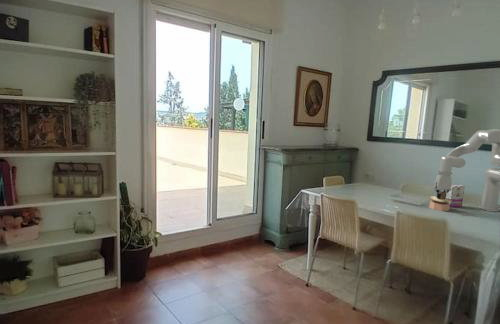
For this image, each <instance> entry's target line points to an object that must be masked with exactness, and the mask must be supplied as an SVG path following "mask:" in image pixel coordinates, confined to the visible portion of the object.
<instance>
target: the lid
mask: <svg viewBox="0 0 500 324" xmlns="http://www.w3.org/2000/svg"><path fill="white" fill-rule="evenodd" d="M440 194H441V198H440V199H438V198H437V195H431V196H429V200H430V201H431V200H434V201H438V202H445V203H450V202H452V200H451V199H449V198H445V192H443V190H441V193H440Z"/></svg>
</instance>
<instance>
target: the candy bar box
mask: <svg viewBox="0 0 500 324" xmlns="http://www.w3.org/2000/svg"><path fill="white" fill-rule="evenodd" d="M464 193H465V185H461V184H451V191H449V192H448V193H447V194H446V198H449V199H451V200H452V202H450V208H462V206H463V200H464Z"/></svg>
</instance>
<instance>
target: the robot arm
mask: <svg viewBox="0 0 500 324" xmlns="http://www.w3.org/2000/svg"><path fill="white" fill-rule="evenodd" d="M485 143H487V144H491V152H490V158H489V163H490V164H491V165H492V166H493V167H489V168H487V169H486V170H485V171H484V188H483V193H482V199H481V204H480V205H478V209H480V210H484V211H488V212H500V204H499V199H500V129H498V128H492V129H491V128H490V129H488V130H487V129H482V130H481V129H480V130H477V131H476V132H475V133H474V134H472V136H471V137H470V138H469V139H468V140H467V141H465V143H464V144H462V145H460V146H457V147H456V148H454V149H452V150H451V151H449V152H448V154H447V155H446V156H445V155H444V156H441V157H440V162H439V168H438V174H436V177H435V179H434V185H433V188H432V189H433V190H434V191H435V192H436V196H437V198H438V199H440V198H441V194H440V193H441V191H442V192H445V198H446V196H447V193H448V192H449V191H451V185H452V176H451V175H452V174H453V172H452V169H453V168H456V169H460V168H463V167H465V166H466V160H465V159H464V158H463V157H461V156H464V155H468V154H472V153H475V152H477V151H478V149H479V148H480V147H481V146H482V145H484V144H485ZM494 166H495V167H494Z"/></svg>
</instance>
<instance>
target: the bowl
mask: <svg viewBox="0 0 500 324" xmlns="http://www.w3.org/2000/svg"><path fill="white" fill-rule="evenodd" d="M428 207H429V208H430V209H432V210H435V211H441V212H448V211H450V209H451V207H450V203H445V202H438V201H434V200H431V199H430V201H429V206H428Z"/></svg>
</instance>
